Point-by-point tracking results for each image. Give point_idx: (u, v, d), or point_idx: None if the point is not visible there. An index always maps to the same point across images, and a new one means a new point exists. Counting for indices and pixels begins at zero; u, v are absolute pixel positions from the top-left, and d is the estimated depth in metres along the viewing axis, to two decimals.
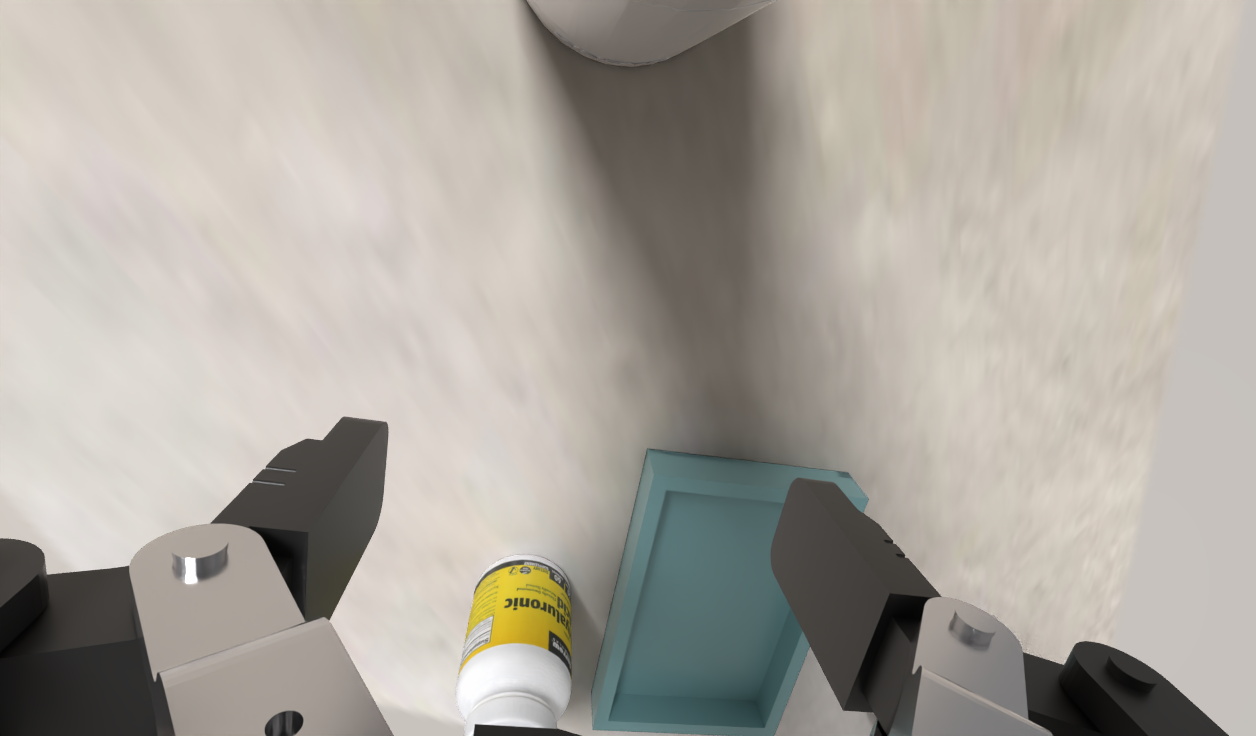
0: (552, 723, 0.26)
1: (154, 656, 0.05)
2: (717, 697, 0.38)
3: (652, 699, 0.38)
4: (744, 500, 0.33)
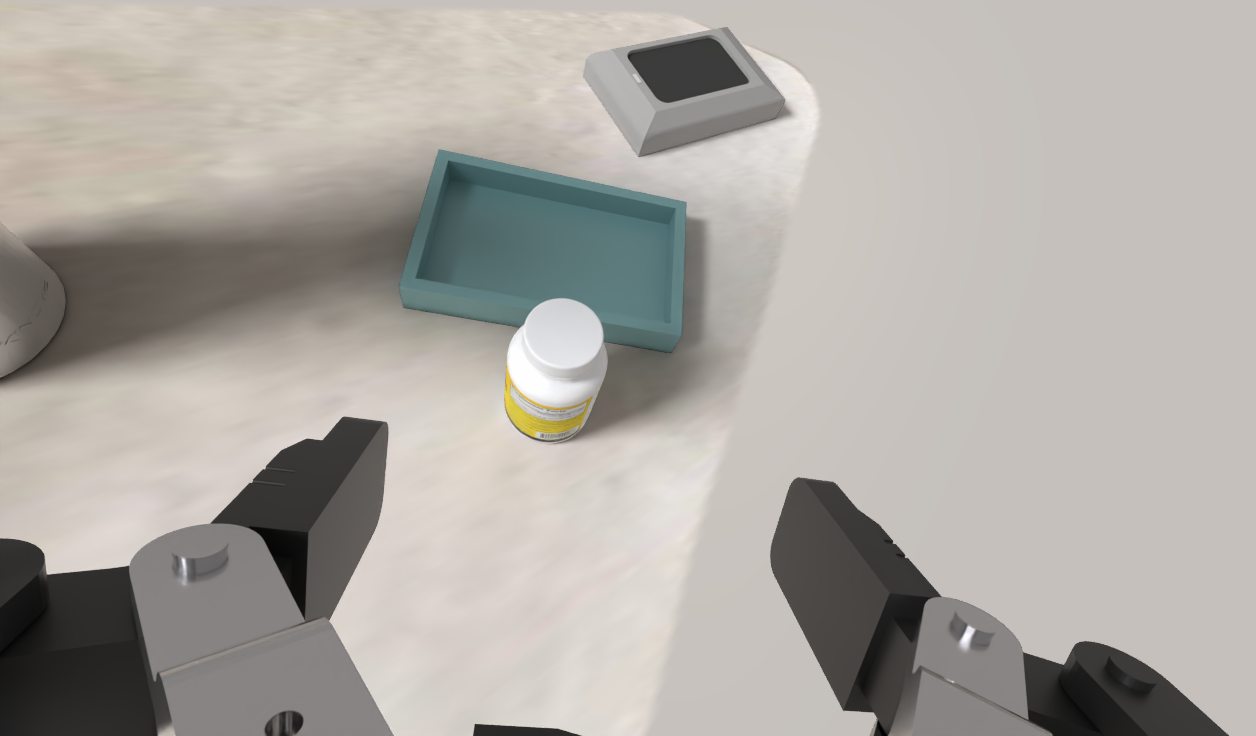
0: None
1: (154, 657, 0.05)
2: (665, 251, 0.45)
3: (665, 298, 0.42)
4: (454, 236, 0.41)
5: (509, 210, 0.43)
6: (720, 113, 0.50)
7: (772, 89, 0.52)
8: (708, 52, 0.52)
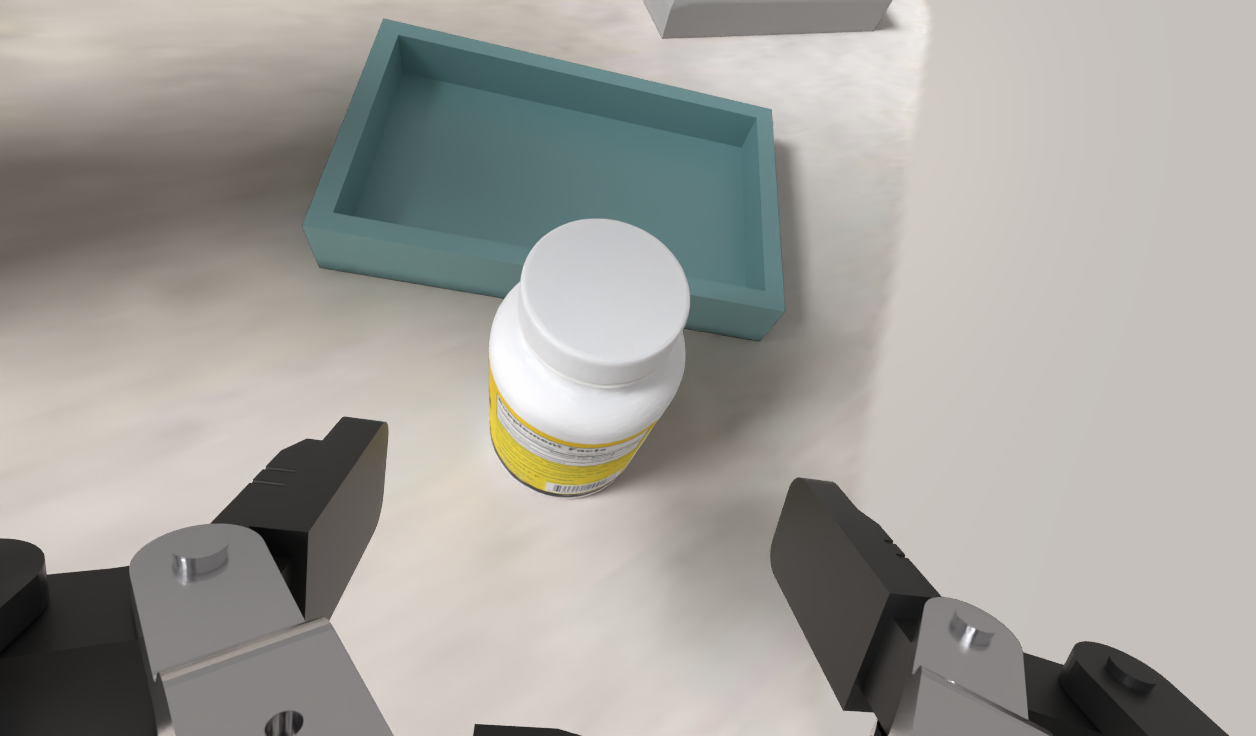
0: None
1: (154, 657, 0.05)
2: (739, 186, 0.29)
3: (747, 255, 0.27)
4: (409, 156, 0.25)
5: (498, 120, 0.27)
6: None
7: None
8: None
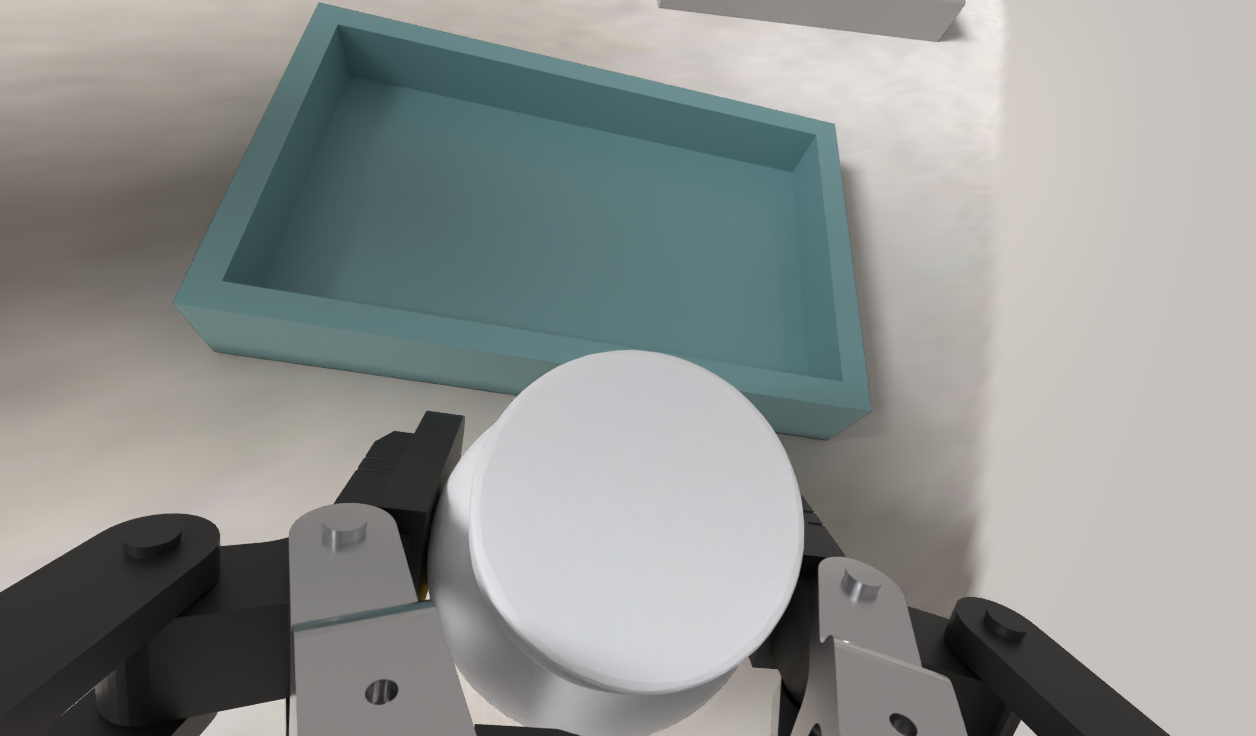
0: None
1: (295, 611, 0.06)
2: (793, 224, 0.22)
3: (808, 321, 0.20)
4: (351, 190, 0.19)
5: (475, 138, 0.21)
6: None
7: None
8: None
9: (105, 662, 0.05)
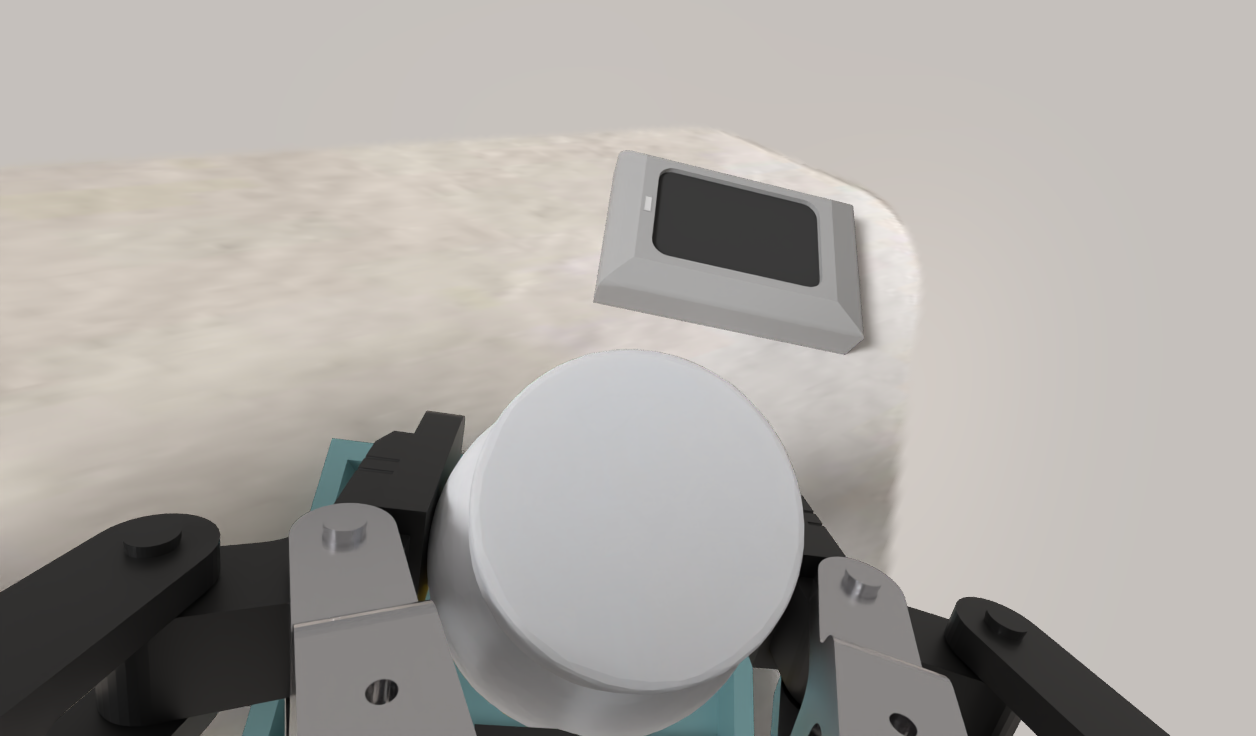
0: None
1: (294, 612, 0.06)
2: None
3: None
4: None
5: None
6: (741, 306, 0.32)
7: (848, 313, 0.33)
8: (789, 221, 0.35)
9: (106, 662, 0.05)
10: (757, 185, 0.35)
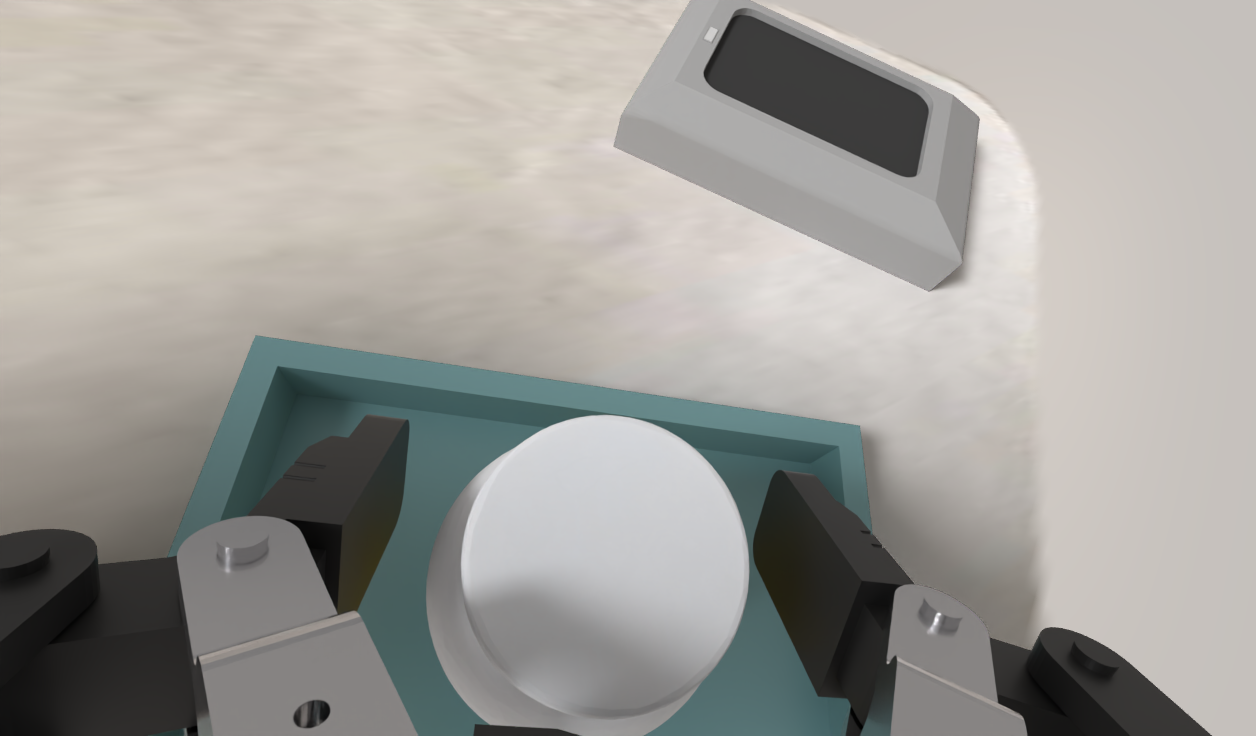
0: None
1: (196, 642, 0.05)
2: None
3: None
4: None
5: (443, 468, 0.18)
6: (802, 180, 0.24)
7: (947, 224, 0.24)
8: (891, 104, 0.26)
9: None
10: (858, 54, 0.27)
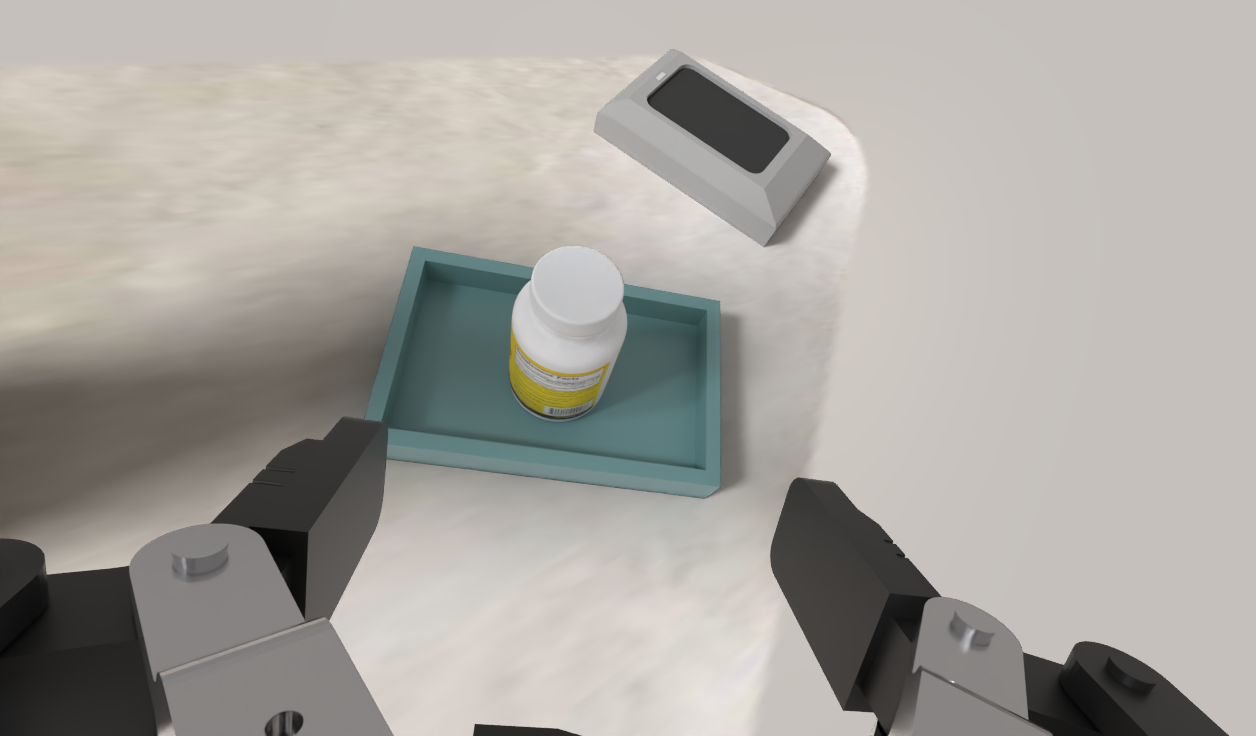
0: None
1: (153, 658, 0.05)
2: (694, 362, 0.36)
3: (696, 428, 0.34)
4: (433, 357, 0.33)
5: (502, 317, 0.35)
6: (690, 165, 0.41)
7: (770, 203, 0.41)
8: (764, 133, 0.43)
9: None
10: (753, 101, 0.44)
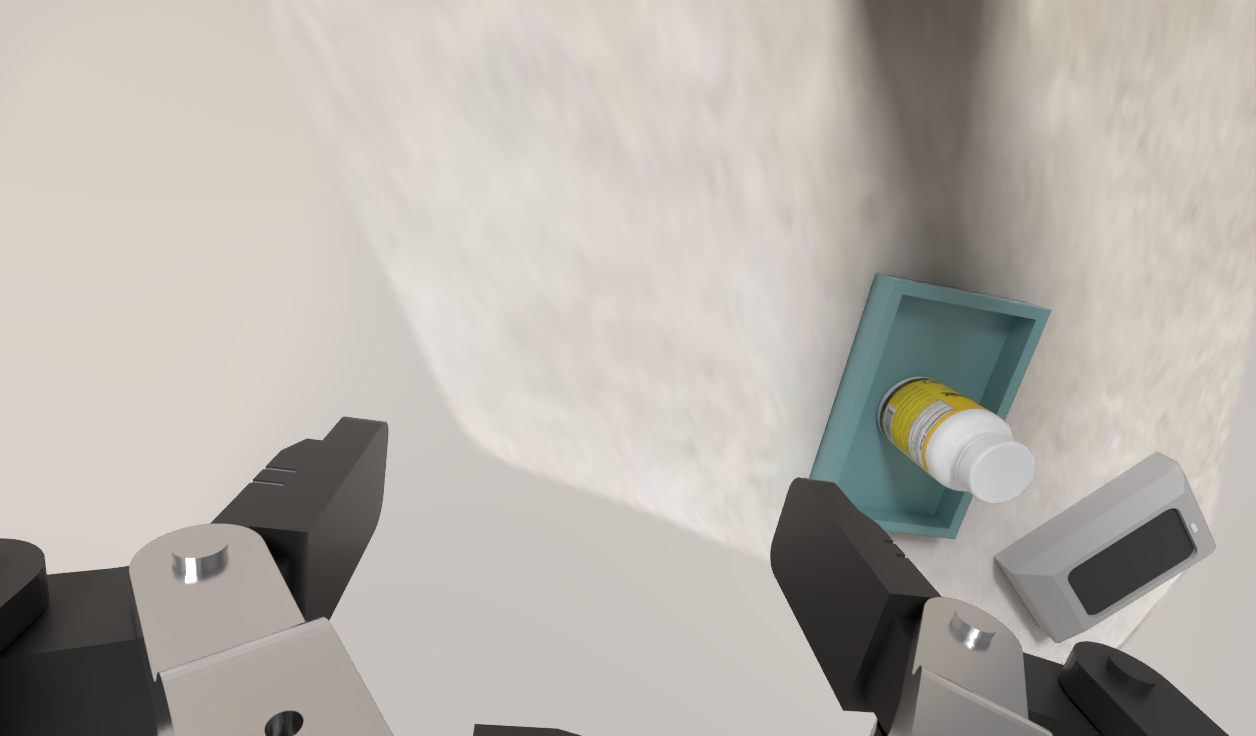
0: None
1: (154, 657, 0.05)
2: (904, 509, 0.46)
3: None
4: (946, 319, 0.41)
5: (970, 370, 0.43)
6: (1096, 524, 0.47)
7: (1036, 576, 0.47)
8: (1100, 595, 0.48)
9: None
10: (1135, 597, 0.48)
